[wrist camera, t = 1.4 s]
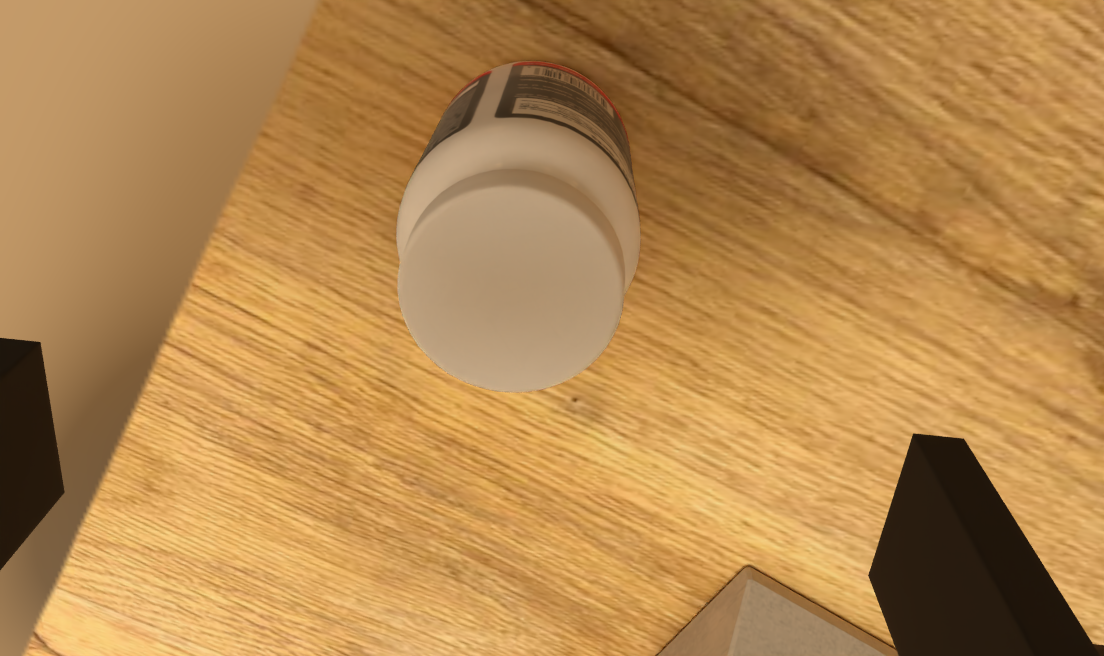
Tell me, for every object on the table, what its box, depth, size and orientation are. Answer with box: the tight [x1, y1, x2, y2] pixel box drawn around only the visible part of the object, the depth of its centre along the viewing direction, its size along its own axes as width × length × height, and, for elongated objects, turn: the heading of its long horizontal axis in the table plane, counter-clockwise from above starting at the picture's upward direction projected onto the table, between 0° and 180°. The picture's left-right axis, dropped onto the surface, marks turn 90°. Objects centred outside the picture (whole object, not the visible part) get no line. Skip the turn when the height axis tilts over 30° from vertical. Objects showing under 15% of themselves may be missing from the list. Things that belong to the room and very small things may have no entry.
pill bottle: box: [396, 61, 641, 393], centre depth 24 cm, size 6×6×10 cm
